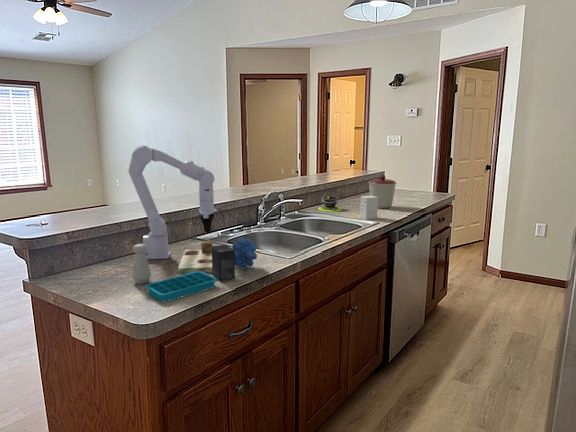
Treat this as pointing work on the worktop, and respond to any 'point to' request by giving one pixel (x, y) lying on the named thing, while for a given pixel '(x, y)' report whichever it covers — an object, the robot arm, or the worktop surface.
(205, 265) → the board
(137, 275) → the salt shaker
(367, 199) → the supplement box
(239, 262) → the grapes
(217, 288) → the worktop surface
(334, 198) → the toy cauldron
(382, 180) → the canister
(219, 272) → the box
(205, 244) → the walnut block
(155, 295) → the ice cube tray
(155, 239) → the robot arm
